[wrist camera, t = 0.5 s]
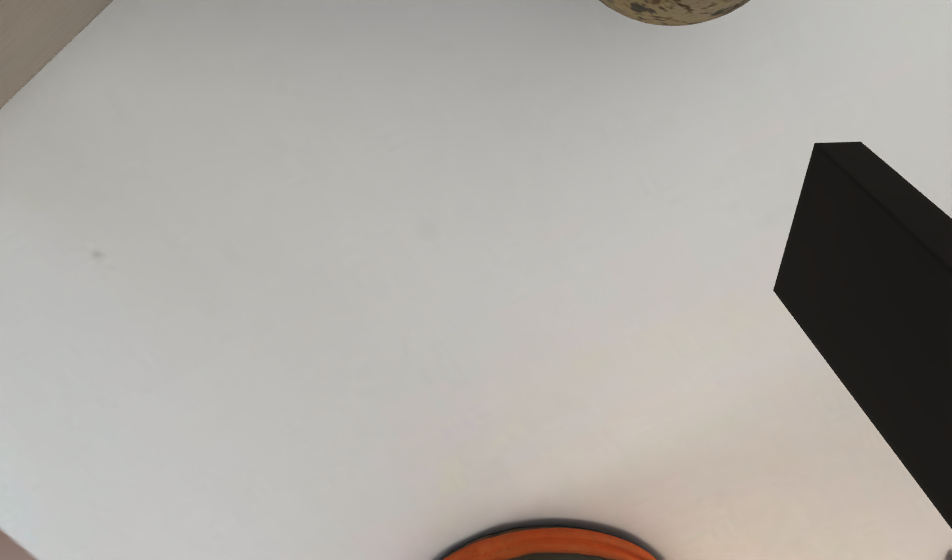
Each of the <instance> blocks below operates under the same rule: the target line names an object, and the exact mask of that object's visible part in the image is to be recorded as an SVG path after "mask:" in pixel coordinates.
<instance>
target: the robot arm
mask: <svg viewBox="0 0 952 560" xmlns="http://www.w3.org/2000/svg"><path fill="white" fill-rule="evenodd" d="M773 291H774V292H775V293H776V295H777V296H778V297H779V299H780V300H781V301H782V303H783V304H784V305H785V307H786V308H787V309H788V311H789V312H790V313H791V315H792V316H793V317H794V319H795V320H796V321H797V323H798V324H799V325H800V327H801V328H802V329H803V331H804V332H805V333H806V335H807V336H808V337H809V339H810V340H811V341H812V343H813V344H814V345H815V347H816V348H817V349H818V351H819V352H820V353H821V355H822V356H823V357H824V359H825V360H826V362H827V363H828V364H829V366H830V367H831V368H832V370H833V371H834V372H835V374H836V375H837V376H838V378H839V379H840V380H841V382H842V383H843V384H844V386H845V387H846V388H847V390H848V391H849V392H850V394H851V395H852V396H853V398H854V399H855V400H856V402H857V403H858V404H859V406H860V407H861V408H862V410H863V411H864V412H865V414H866V415H867V416H868V418H869V419H870V420H871V422H872V423H873V424H874V426H875V427H876V428H877V430H878V431H879V432H880V434H881V435H882V436H883V438H884V439H885V440H886V442H887V443H888V444H889V446H890V447H891V448H892V450H893V451H894V452H895V454H896V455H897V456H898V458H899V459H900V460H901V462H902V463H903V464H904V466H905V467H906V468H907V470H908V471H909V472H910V474H911V475H912V476H913V478H914V479H915V480H916V482H917V483H918V484H919V486H920V487H921V488H922V490H923V491H924V492H925V494H926V495H927V497H928V498H929V499H930V501H931V502H932V503H933V505H934V506H935V507H936V509H937V510H938V511H939V513H940V514H941V515H942V517H943V518H944V519H945V521H946V522H947V523H948V525H949V526H950V527H951V529H952V219H951V218H950V217H949V216H948V215H947V214H945V213H944V212H943V211H942V210H941V209H939V208H938V207H937V206H936V205H935V204H934V203H932V202H931V201H930V200H929V199H928V198H927V197H925V196H924V195H923V194H922V193H921V192H919V191H918V190H917V189H916V188H915V187H914V186H912V185H911V184H910V183H909V182H908V181H906V180H905V179H904V178H903V177H902V176H901V175H899V174H898V173H897V172H896V171H895V170H893V169H892V168H891V167H890V166H889V165H888V164H886V163H885V162H884V161H883V160H882V159H881V158H879V157H878V156H877V155H876V154H875V153H873V152H872V151H871V150H870V149H869V148H868V147H866V146H865V145H864V144H863V143H862V142H838V143H815V144H814V147H813V151H812V155H811V158H810V162H809V165H808V169H807V172H806V176H805V179H804V183H803V187H802V190H801V194H800V197H799V201H798V204H797V208H796V212H795V215H794V219H793V222H792V226H791V229H790V233H789V237H788V240H787V244H786V247H785V251H784V254H783V258H782V261H781V265H780V269H779V272H778V276H777V279H776V283H775V286H774V290H773Z"/></svg>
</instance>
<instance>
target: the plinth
mask: <svg viewBox="0 0 952 560" xmlns="http://www.w3.org/2000/svg"><path fill="white" fill-rule="evenodd" d="M112 1H113V0H0V108H1V107H3V106H4V105H5V104H6V103H7V102H8V101H9V100H10V99H11V98H12V97H13V96H14V95H15V94H16V93H17V92H18V91H19V90H20V89H21V88H22V87H23V86H24V85H25V84H26V83H27V82H29V81H30V80H31V79H32V78H33V77H34V76H35V75H36V74H37V73H38V72H39V71H40V70H41V69H42V68H43V67H44V66H45V65H46V64H47V63H48V62H49V61H50V60H51V59H52V58H54V57H55V56H56V55H57V54H58V53H59V52H60V51H61V50H62V49H63V48H64V47H65V46H66V45H67V44H68V43H69V42H70V41H71V40H72V39H73V38H74V37H75V36H76V35H77V34H78V33H80V32H81V31H82V30H83V29H84V28H85V27H86V26H87V25H88V24H89V23H90V22H91V21H92V20H93V19H94V18H95V17H96V16H97V15H98V14H99V13H100V12H101V11H102V10H103V9H105V8H106V7H107V6H108V5H109V4H110V3H111V2H112Z"/></svg>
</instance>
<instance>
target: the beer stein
mask: <svg viewBox="0 0 952 560" xmlns="http://www.w3.org/2000/svg"><path fill="white" fill-rule="evenodd" d="M443 560H657V559H656V558H655V557H653V556H652V555H651V554H650V553H648V552H647V551H645V550H644V549H642V548H640V547H639V546H637V545H635V544H633V543H631V542H629V541H626V540H624V539H621V538H618V537H615V536H611V535H608V534H604V533H601V532H597V531H593V530H588V529H581V528H571V527H560V526H537V527H527V528H516V529H511V530H507V531H504V532H501V533H496V534H491V535H487V536H484V537H481V538H479V539H476V540H474V541H472V542H469V543H468V544H466V545H465V546H463V547H462V548H460V549H458V550H456V551H454V552H452V553H451V554H450V555H449V556H447V557H446V558H444V559H443Z"/></svg>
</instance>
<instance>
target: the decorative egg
mask: <svg viewBox="0 0 952 560" xmlns="http://www.w3.org/2000/svg"><path fill="white" fill-rule="evenodd" d="M600 1H601V2H602V3H604V4H605V5H606V6H608V7H609V8H611V9H613V10H615V11H616V12H618V13H620V14H622V15H624V16H627V17H629V18H632V19H635V20H638V21H641V22H645V23H649V24H655V25H665V26H680V25H691V24H697V23H702V22H705V21H709V20H712V19H715V18H718V17H721V16H723V15H726V14H728V13H730V12H732V11H734V10H736V9H737V8H739V7H741V6H743V5H744V4H745V3H747V2H748V1H750V0H600Z"/></svg>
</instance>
